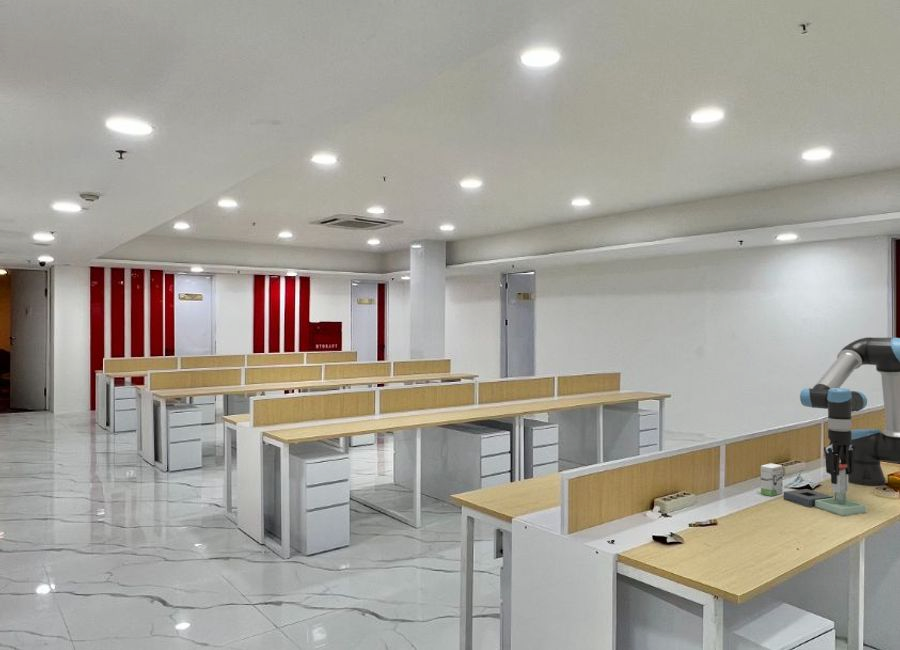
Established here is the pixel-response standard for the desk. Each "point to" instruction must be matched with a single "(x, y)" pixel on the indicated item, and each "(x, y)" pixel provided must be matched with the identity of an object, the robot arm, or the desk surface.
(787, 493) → the block
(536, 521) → the desk surface
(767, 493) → the ink box
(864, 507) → the tray
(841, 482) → the red capped clear bottle
